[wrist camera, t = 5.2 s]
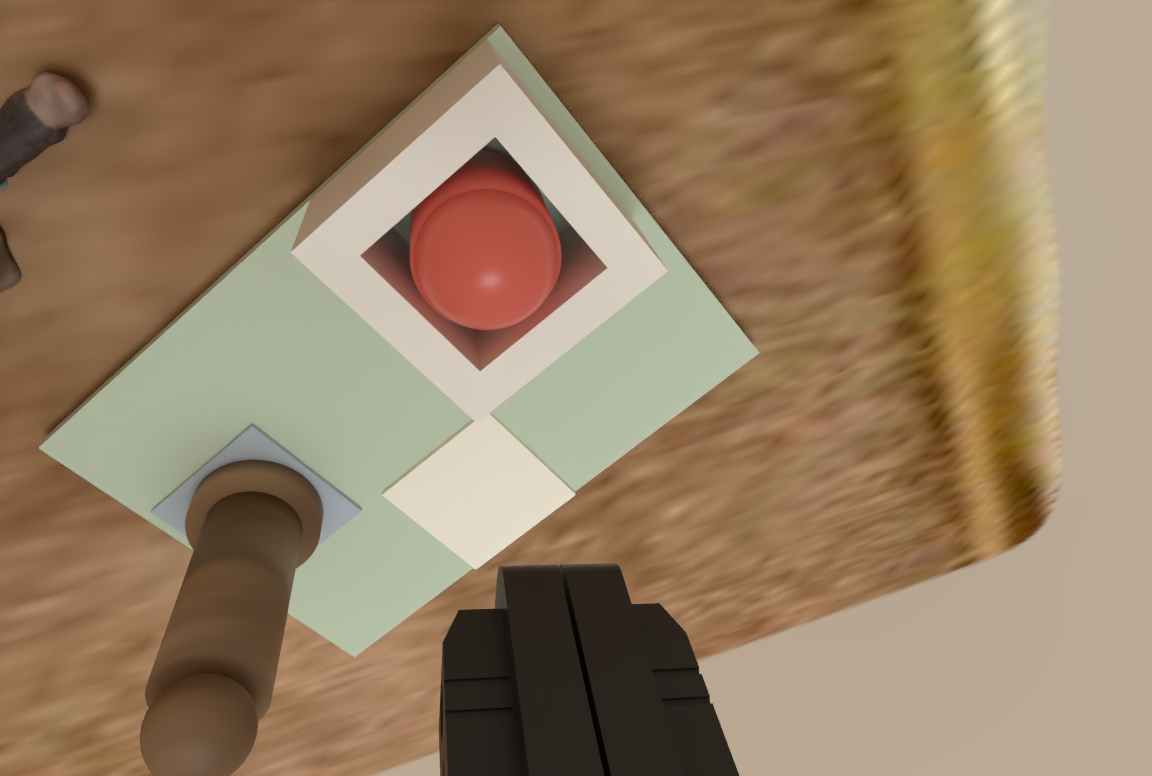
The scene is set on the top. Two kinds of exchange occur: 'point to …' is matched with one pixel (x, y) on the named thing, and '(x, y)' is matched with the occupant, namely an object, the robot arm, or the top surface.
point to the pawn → (228, 617)
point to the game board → (391, 412)
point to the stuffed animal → (34, 137)
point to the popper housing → (412, 172)
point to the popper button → (485, 245)
